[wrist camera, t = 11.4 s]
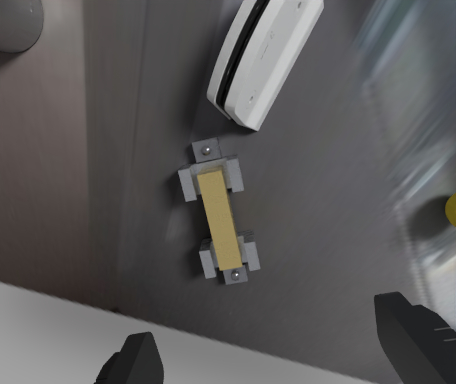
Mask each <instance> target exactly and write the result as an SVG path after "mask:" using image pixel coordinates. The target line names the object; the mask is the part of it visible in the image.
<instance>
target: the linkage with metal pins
mask: <svg viewBox="0 0 456 384" xmlns="http://www.w3.org/2000/svg"><path fill="white" fill-rule="evenodd" d="M192 146H193V150H194V154H195V159H196V163H192V164H187V165H183V166H182V167H181V168H180V169H179V170H178V173H179V177H180V181H181V185H182V189H183V193H184V196H185V200H186V202H187V201H192V200H197V198H198V196H199V194H201V190H200V186H199V182H198V178H197V175H198V173H199V172H200V171H202V170H206V169H211V168H216V167H221V166H223V171H224V175H225V180H226V185H227V189H228V188H232V191H233V192H237V191H242V190H244V185H243V179H242V174H241V169H240V164H239V160H238V155H237V154H235V155H230V156H225V157H221V156H222V155H221V151H220V146H219V142H218V137H212V138H208V139H203V140H198V141H194V142H192ZM237 235H238V239H239V244H240V249H241V253H242V266H243V267H238V268H233V269H227V270H223V274H224V278H225V282H226V285H228V284H233V283H239V282H245V281H248V273H247V269H246V264H245V262H248V264H249V269H250V271H252V270H257V269H260V264H259V257H258V252H257V247H256V242H255V237H254V232H253V230H249V231H243V232H238V233H237ZM199 254H200V258H201V261H202V265H203V269H204V273H205V277H206V278H212V277H216V274H217V267H219V264H218V260H217V256H216V252H215V248H214V244H213V239H212V238H206V239H202V243H201V246H200V250H199Z"/></svg>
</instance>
